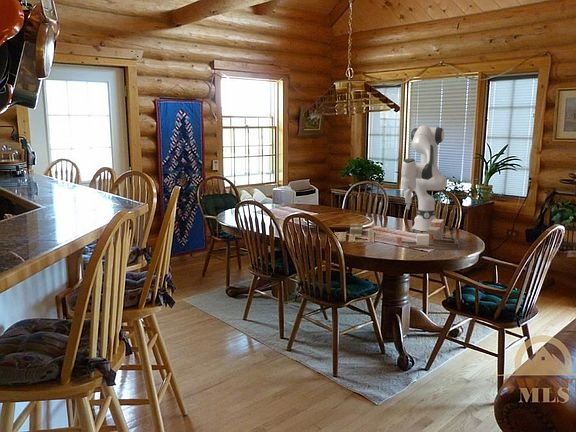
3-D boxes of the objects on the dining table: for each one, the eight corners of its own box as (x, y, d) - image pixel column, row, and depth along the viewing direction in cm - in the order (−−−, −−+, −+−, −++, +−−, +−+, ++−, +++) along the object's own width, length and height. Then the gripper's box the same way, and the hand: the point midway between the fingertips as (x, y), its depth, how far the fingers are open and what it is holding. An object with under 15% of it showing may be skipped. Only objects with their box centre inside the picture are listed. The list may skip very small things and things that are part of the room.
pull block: (396, 242, 310) (397, 232, 309) (428, 243, 307) (428, 233, 306) (396, 244, 305) (397, 234, 304) (428, 245, 301) (429, 236, 300)
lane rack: (408, 243, 312) (408, 235, 311) (455, 245, 306) (456, 237, 305) (408, 248, 301) (408, 239, 300) (457, 250, 295) (458, 241, 294)
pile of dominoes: (335, 230, 353) (335, 223, 352) (374, 231, 348) (374, 224, 347) (331, 242, 319) (331, 234, 318) (374, 243, 315) (374, 235, 314)
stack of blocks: (437, 244, 308) (437, 225, 306) (426, 243, 311) (427, 224, 309) (443, 237, 327) (444, 219, 325) (433, 236, 330) (434, 218, 328)
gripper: (414, 188, 294) (413, 211, 297) (413, 183, 314) (412, 204, 317) (403, 188, 296) (402, 211, 299) (403, 183, 315) (402, 204, 318)
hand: (407, 207), depth 308 cm, fingers open, 8 cm apart
